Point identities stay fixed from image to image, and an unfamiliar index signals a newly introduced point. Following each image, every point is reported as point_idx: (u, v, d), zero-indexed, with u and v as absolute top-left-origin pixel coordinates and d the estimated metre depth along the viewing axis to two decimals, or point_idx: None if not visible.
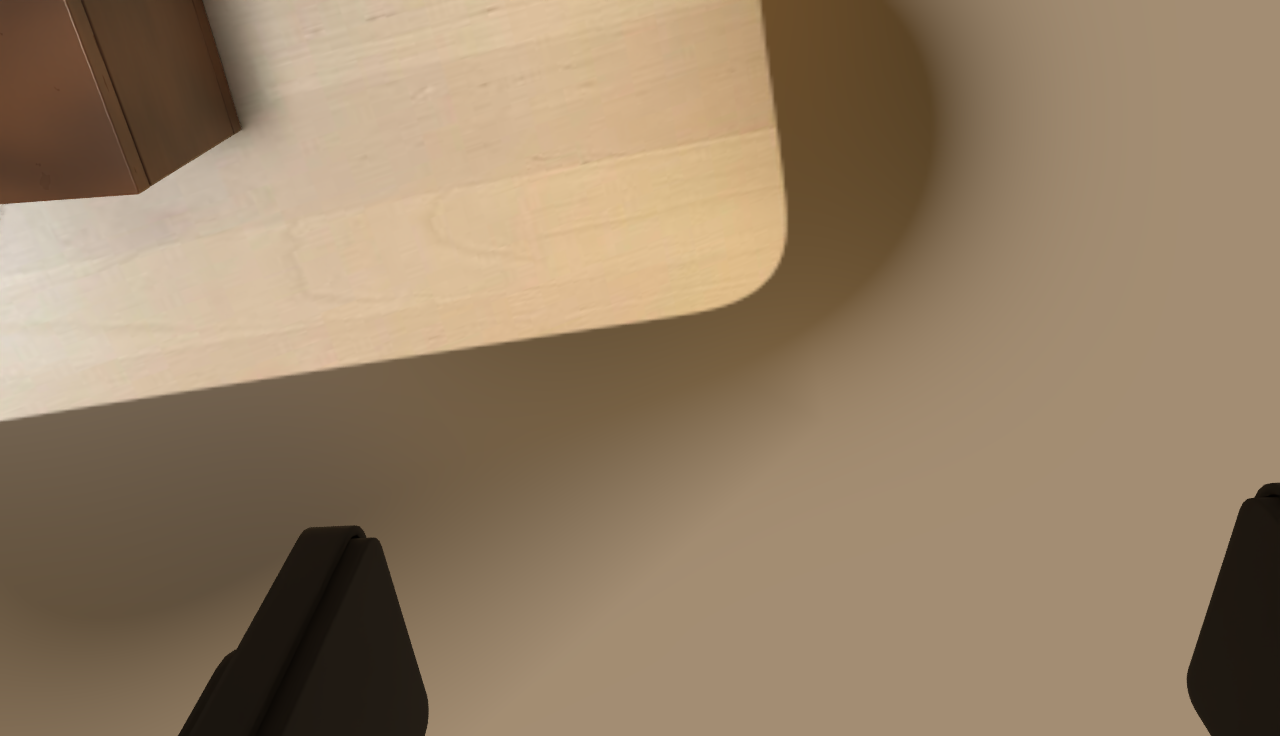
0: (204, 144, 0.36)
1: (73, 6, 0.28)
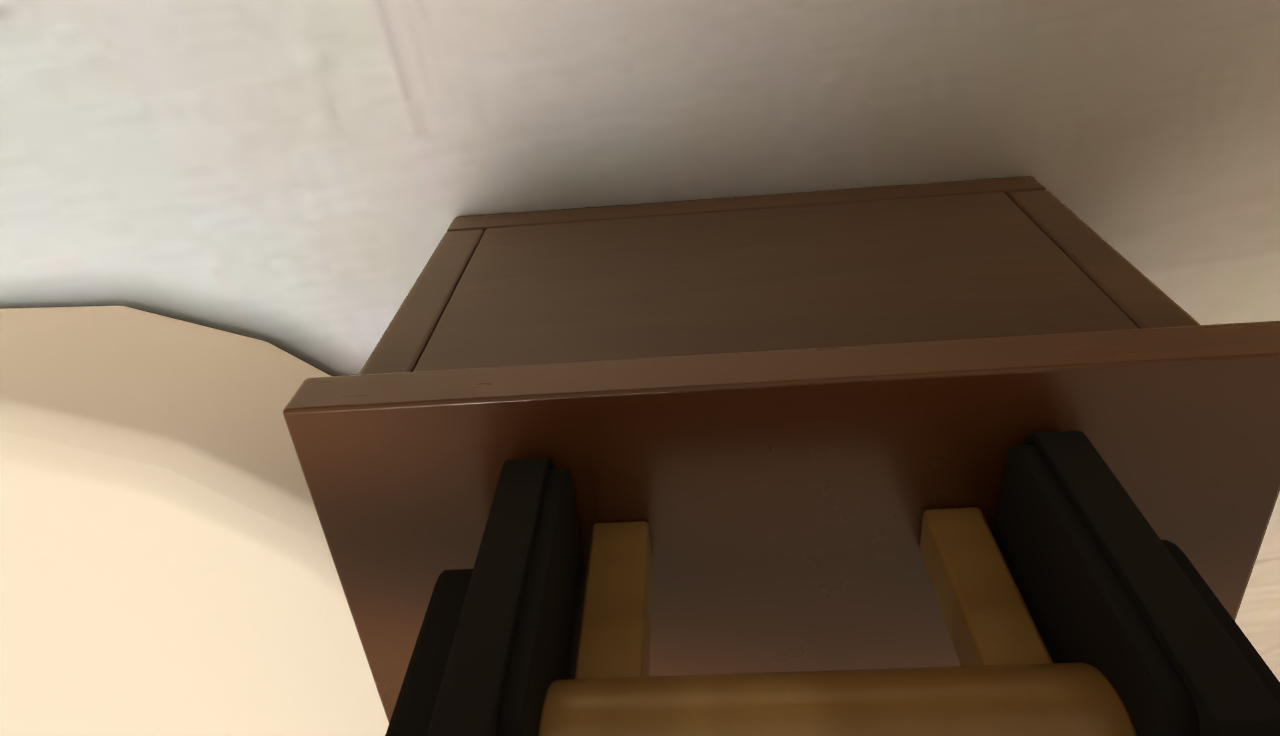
0: None
1: None
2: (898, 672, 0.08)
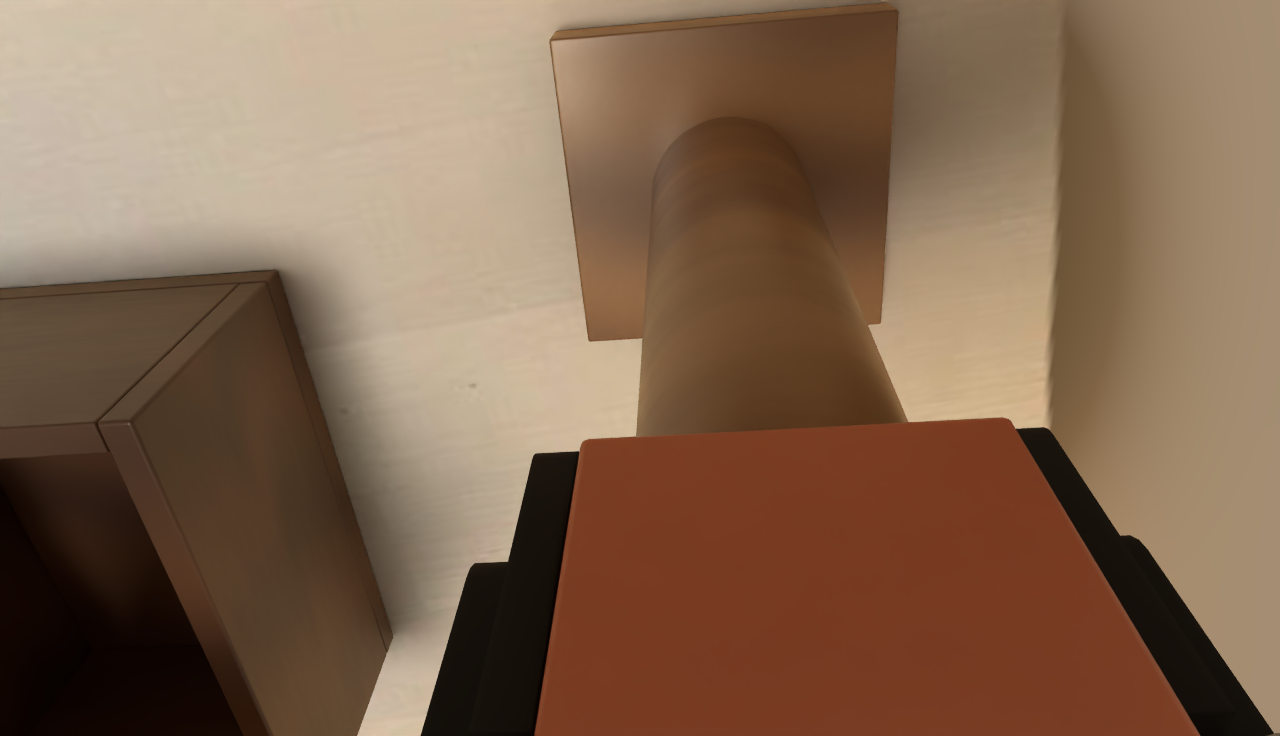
0: (363, 707, 0.29)
1: None
2: None
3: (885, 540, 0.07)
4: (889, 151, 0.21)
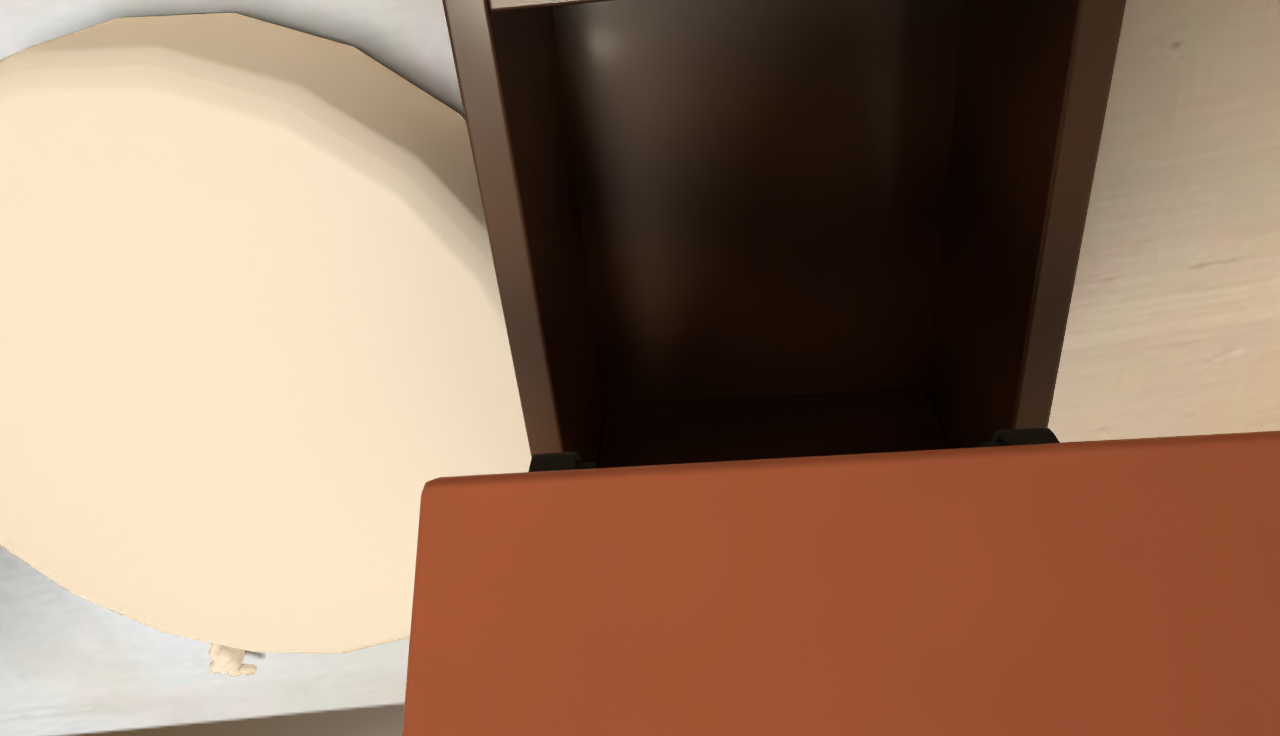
0: None
1: None
2: None
3: None
4: None
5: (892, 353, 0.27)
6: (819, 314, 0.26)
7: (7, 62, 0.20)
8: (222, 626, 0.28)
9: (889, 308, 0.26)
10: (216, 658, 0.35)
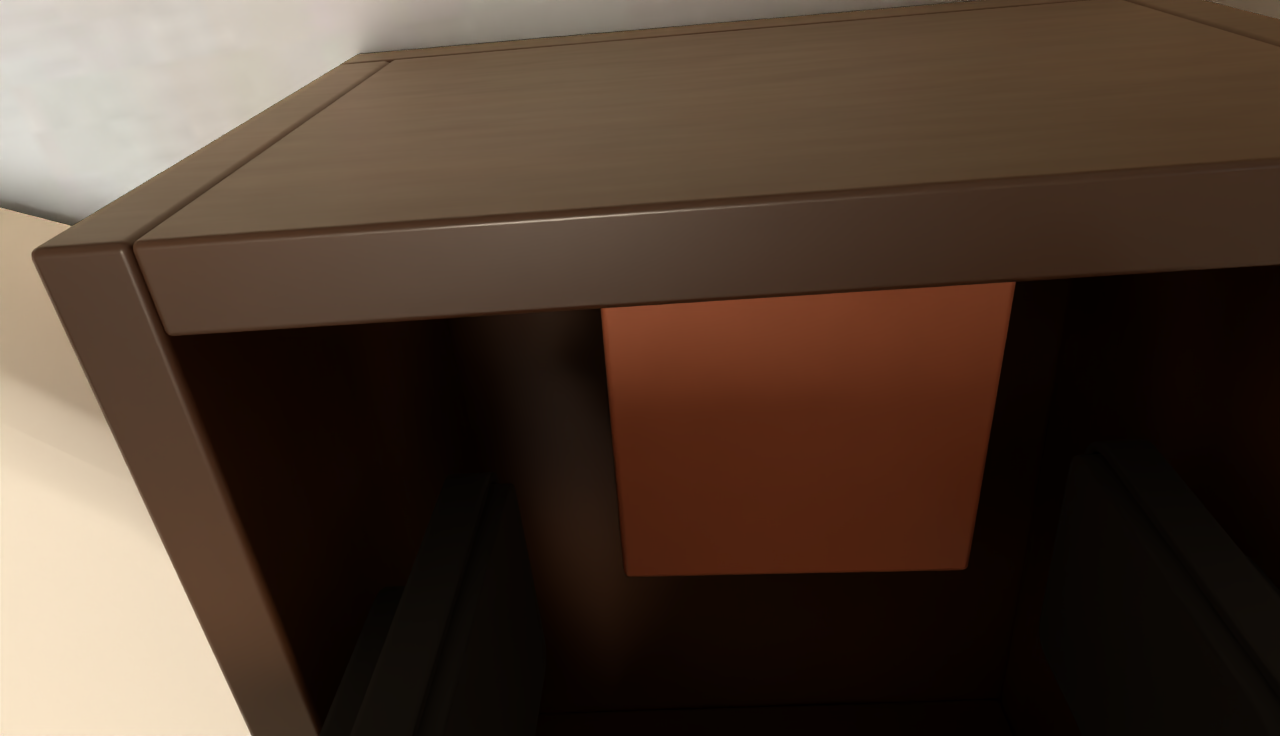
0: None
1: None
2: None
3: None
4: None
5: (951, 653, 0.18)
6: (845, 605, 0.17)
7: None
8: None
9: (949, 598, 0.17)
10: None
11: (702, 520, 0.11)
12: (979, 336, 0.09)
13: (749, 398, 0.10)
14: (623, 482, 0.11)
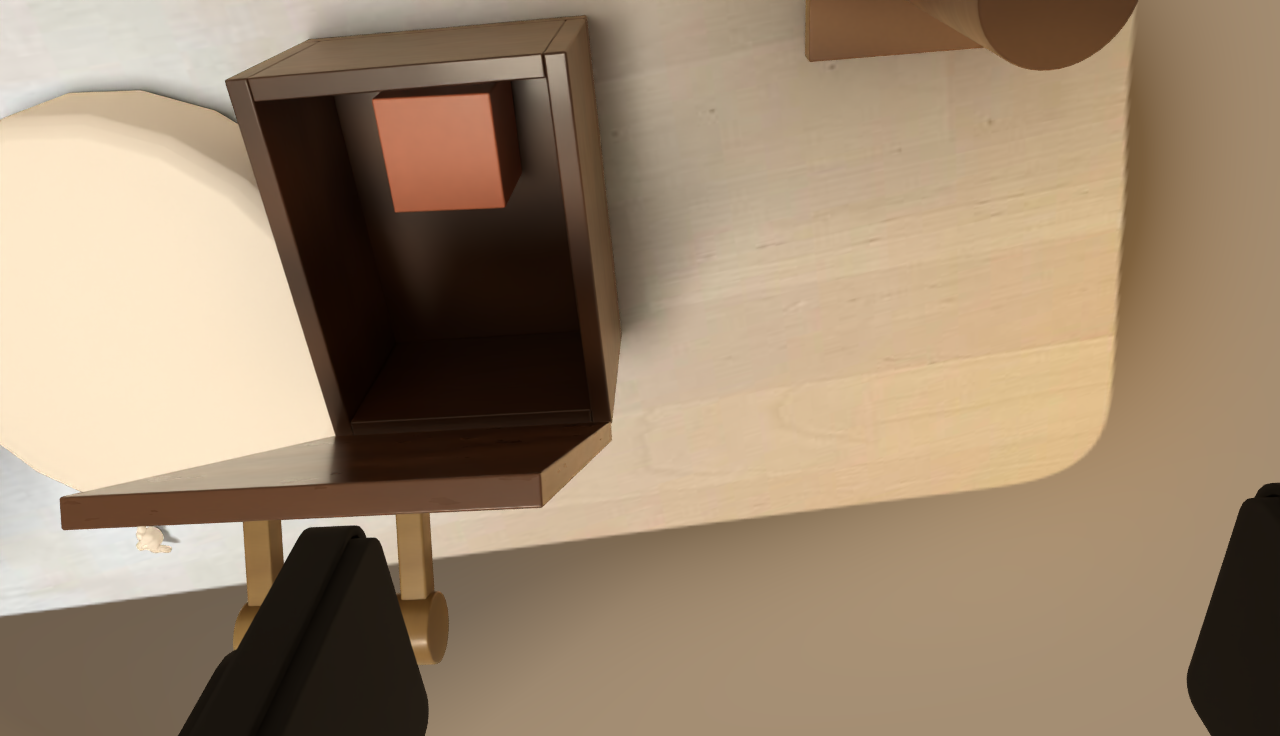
0: (617, 363, 0.39)
1: (592, 451, 0.29)
2: None
3: None
4: None
5: (575, 304, 0.41)
6: (524, 279, 0.40)
7: (0, 123, 0.34)
8: None
9: (567, 274, 0.40)
10: (141, 538, 0.49)
11: (415, 188, 0.34)
12: (484, 120, 0.32)
13: (422, 142, 0.33)
14: (388, 174, 0.34)
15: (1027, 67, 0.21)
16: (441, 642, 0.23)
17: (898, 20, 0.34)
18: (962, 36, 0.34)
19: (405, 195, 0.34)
